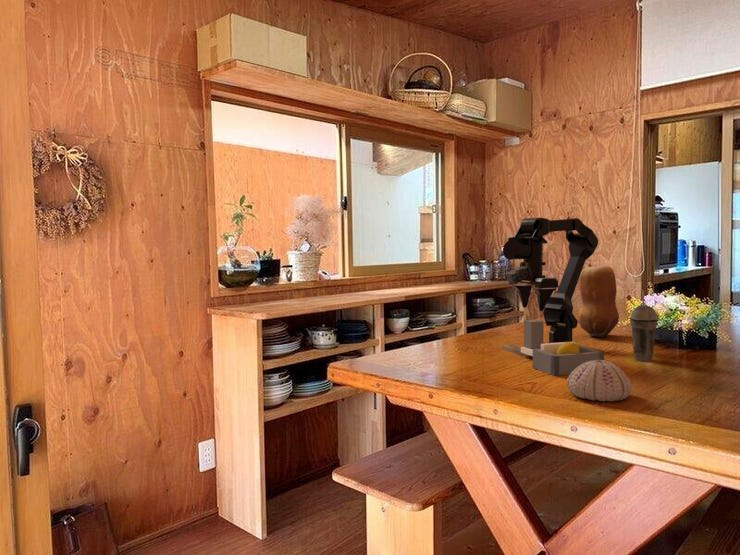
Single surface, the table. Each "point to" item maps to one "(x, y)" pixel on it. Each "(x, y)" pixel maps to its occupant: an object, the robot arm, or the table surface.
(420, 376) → the table surface
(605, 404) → the table surface
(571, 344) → the lemon
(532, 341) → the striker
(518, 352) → the rail
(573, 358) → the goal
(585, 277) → the butternut squash
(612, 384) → the sea urchin shell
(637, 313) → the beverage cup
